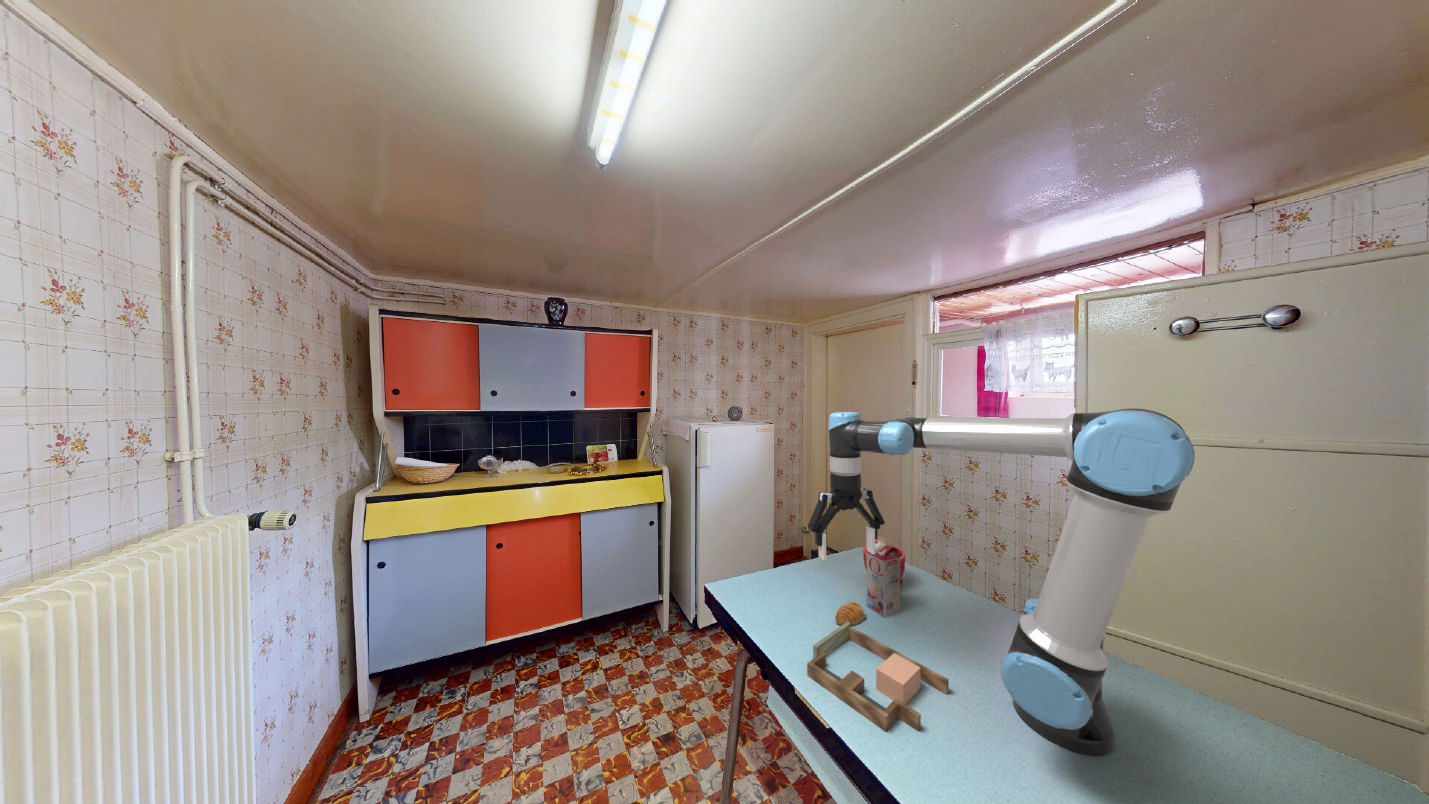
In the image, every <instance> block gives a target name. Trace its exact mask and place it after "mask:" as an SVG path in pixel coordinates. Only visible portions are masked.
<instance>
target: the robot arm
mask: <svg viewBox="0 0 1429 804" xmlns="http://www.w3.org/2000/svg"><path fill="white" fill-rule="evenodd" d="M828 438H829V439H828V440H829V470H830V474H829V481H830V482H829V483H830V485H829V486H830V487H829V488H830V492H829V493H826V492H825V493H824V492H823V491H820V492H819V493H818V500H817V503H816V505H815V508H814V510H813V513H812V514H811V517H810V520H809V522H808V525H807V529H808V530H809V531H811V532H812V533H814V542H815V544H816V546H818V557H819V558H821V559H822V560H823V561H827V534H826V533H825V530H826V529H827V528H828V526H829V525H830V523H831V521H832V520H833V519H834V518H835V516H836V514H838V513H839V512H840V511H847V510H854V509H855V510H856V511H857V512H858V513H859V514H860V515H861V517H862V518H863V519H864V520H865V521H866V523H868V525H865V536H866V538H865V539H866V545H867V551H869V552H870V553H872V554H875V540H877V538H878V536H879V535H878V530H879V529H881V526H884V525H885V519H884V518H883V516H882V513H881V512H880V510H879V507H878V506H877V503H876V502H875V500H874V494H873V491H872V490H870V489H868V488H863V489H862V475H861V474H860V473H861V472H862V461H861V459H862V458H861V457H862V455H861V452H868V453H875V454H882V455H885V454H886V455H889V456H905V455H908V454H909V453H910V452H911V450H912V449H933V450H948V451H961V452H962V451H966V452H976V453H977V452H981V453H993V454H995V453H996V454H1008V455H1009V454H1010V455H1011V454H1012V455H1026V456H1039V457H1041V456H1043V457H1056V458H1057V457H1058V458H1067V459H1068V460H1069V461H1071V465H1070V469H1069V471H1068V473H1067V477H1066V481H1065V482H1066V483H1067V485H1068V486H1069V488H1070V489H1071V491H1072V492H1073V494H1074V495H1073V498H1072V501H1071V503H1070V507H1069V510H1068V513H1067V516H1066V518H1065V521H1064V523H1063V527H1062V530H1061V533H1060V536H1059V539H1058V542H1057V544H1056V548H1055V550H1054V552H1053V553H1054V554H1053V556H1052V559H1051V562H1050V565H1049V568H1048V571H1047V573H1046V577H1045V580H1044V583H1043V585H1042V588H1041V591H1040V594H1039V596H1038V598H1029V599H1027V600H1026V601H1025V604H1024V608H1023V609H1022V610H1023V612H1024V614H1022V615H1021V616H1020V618H1019V620H1018V624H1017V626H1016V629H1015V631H1014V635H1013V639H1012V641H1011V644H1010V646H1009V649H1008V652H1007V653H1006V654H1005V655H1004V656H1003V657H1002V660H1001V666H1000V676H1001V680H1002V683H1003V686H1004V687H1005V689H1006V690H1007V692H1008V693H1009V695H1010V697H1011V698H1012V705H1013V708H1014V709H1015V712H1016V714H1017V715H1018V716H1019V717H1020V718H1021V720H1022V721H1023V722H1024V723H1025V724H1026V725H1027V726H1029V727H1030V728H1031V729H1032V730H1033V731H1035V732H1036V733H1037V734H1039V735H1040V736H1041V737H1043V738H1045V739H1047V740H1048V741H1050V742H1052V743H1054V744H1056V745H1057V746H1060V747H1062V748H1065V749H1066V750H1069V751H1073V752H1075V753H1078V754H1083V755H1088V756H1104V755H1107V754H1110V753H1111V752H1112V751H1113V750H1114V747H1115V731H1114V727H1113V723H1112V722H1111V719H1110V716H1109V714H1108V711H1107V708H1106V706H1105V702H1104V700H1103V678H1104V676H1105V673H1106V670H1107V668H1108V665H1109V661H1108V658H1107V656H1106V654H1105V653H1104V640H1106V636H1105V634H1106V631H1107V630H1108V629H1107V628H1108V627H1109V623H1110V621H1111V618H1112V616H1113V613H1114V611H1115V608H1116V606H1117V603H1118V600H1119V598H1120V595H1121V592H1122V590H1123V588H1124V585H1125V583H1126V580H1127V577H1128V575H1129V572H1130V570H1131V567H1132V565H1133V562H1134V560H1135V557H1136V555H1137V552H1138V550H1139V547H1140V544H1141V542H1142V539H1143V537H1144V534H1145V532H1146V529H1147V527H1148V524H1149V521H1150V519H1151V518H1152V517H1155V516H1159V515H1163V514H1166V513H1170V511H1171V509H1172V506H1173V504H1174V502H1175V499H1176V497H1177V494H1178V492H1179V489H1180V487H1181V485H1182V483H1183V481H1185V479H1186V477H1187V476H1188V477H1189V476H1190V473H1191V472H1192V469H1193V467H1194V464H1195V459H1196V455H1195V449H1194V445H1193V442H1192V441H1191V439H1190V437H1189V436H1188V434H1187V433H1186V431H1185V430H1184V428H1183V426H1181V425H1180V424H1179V423H1178V422H1176V421H1175V420H1174V419H1173V418H1172V417H1169V416H1167V415H1165V414H1163V413H1160V412H1158V411H1154V410H1152V409H1151V410H1149V409H1145V408H1122V409H1116V410H1110V411H1108V410H1107V411H1099V412H1085V413H1084V412H1080V413H1079V412H1077V413H1076V412H1074V413H1070V414H1069V415H1068V416H1067V417H1065V418H1058V417H1057V418H1051V417H1050V418H1049V417H1047V418H1044V417H1043V418H1041V417H1039V418H1038V417H1035V418H1033V417H1031V418H1030V417H1029V418H1028V417H1025V418H1024V417H1023V418H1021V417H1020V418H1019V417H1018V418H1016V417H1013V418H1011V417H1006V418H1005V417H1002V418H1001V417H1000V418H999V417H995V418H993V417H989V418H988V417H985V418H984V417H982V418H981V417H980V418H979V417H971V418H970V417H945V418H944V417H926V418H925V417H915V416H906V417H903V418H895V419H891V420H889V419H888V420H883V421H882V420H880V421H879V420H863V419H861V415H860V413H859V412H857V411H855V412H854V411H837V412H832V413H830V415H829V418H828ZM861 489H862V490H861ZM862 498H863V499H864V501H865V504H866V505H867V508H868V510H869V511H870V513H869V512H868V511H867V510H866V508H865V507H864V505H863V504H862V503H861V502H860V501H861V499H862ZM830 500H831V502H830ZM829 502H830V503H829ZM828 503H829V505H828ZM827 505H828V507H827ZM826 508H827V509H826ZM871 515H872V516H871ZM877 535H878V536H877ZM866 545H865V546H866Z"/></svg>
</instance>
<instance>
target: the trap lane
mask: <svg viewBox="0 0 1429 804" xmlns="http://www.w3.org/2000/svg"><path fill="white" fill-rule="evenodd" d="M848 640H849V641H851V642H853V643H855V645H858V646H860V647H862V648H863V649H865V650H867V651H869V652H870V653H872V654H874V655H876V656H877V657H880V658H881V659H883V660H884V661H886V660H887V659H888V658H889V657H890V656H891V655H892V654H894V653H895V654H897V655H899V656H901V657H902V658H904V659H906V660H908V661H910V662H911V663H913V664H915V665H917V666H919V667H920V668H921V674H920V681H922V682H923V683H926V684H927V685H929V686H930V687H932V688H934V689H936V690H938V691H939V692H941V693H943V694H945V695H948V694H949V688H950V687H949V678H947V677H946V676H943V675H942V674H940V673H937V672H936V671H934V670H932V669H930V668H928V667H927V666H925V665H923V664H921V663H919V662H918V661H915V660H914V659H912V658H910V657H908V656H907V655H904V654H903V653H900V652H899V651H897V650H895V649H893V648H891V647H890V646H887V645H885V644H884V643H882V642H880V641H878V640H876V639H874V638H873V637H871V636H869V635H867V634H865V633H863V632H861V631H859V630H858V629H856V628H854V627H852V625H851V623H849V622H846V623H844V624H843V625H840V626H838V627H837V628H836V629H835V630H833V631H832V632H830V633H829V634H827V635H826V636H824V637H823V638H821V639H820V640H818V641H817V642H816V643H815V644H813V646H812V647H813V648H812V649H813V651H812V652H813V653H812V655H813V656H812V659H811V660H809V661H808V662H807V663H806V666H807V667H806V669H807V670H806V675H807V676H808V677H809V678H810V679H811V680H813V681H814V682H816V683H817V684H819V685H820V686H821V687H822V688H824V689H825V690H827V692H829V693H831V694H832V695H834V696H835V697H836V698H838V700H841V701H842V702H844V703H845V704H846V705H847V706H849V707H850V708H852V709H853V710H855V711H856V712H857V713H859V715H862V716H863V717H865V718H866V719H868V720H869V722H871V723H872V724H874V725H875V726H876V727H878V728H880V729H881V730H882V731H883V732H885V733H887V732H888V730H889V729H890V728H891V727H892V726H893V724H894V723H895V722H896V721H897V720H898V719H899V720H900V721H902V722H903V723H904V724H907V725H908V726H910V727H912V728H913V729H914V730H916V731H917V732H919V731H920V730H921V727H922V726H921V724H922V723H921V721H922V719H921V718H922V717H921V713H920V712H919V711H917V710H915V709H914V708H913V707H910V706H909V705H907V704H904V703H903V702H901V701H899V700H898V699H896V698H895V699H894V700H891V701H892V702H890V703H889V705H888V706H886V707H885V708H886V709H885V710H884V711H883V710H881V709H880V708H878V707H877V706H875V705H874V704H872V703H871V702H869V701H868V700H866V699H865V698H863V697H862V696H860V694H861V693H864V692H865V677H863V676H861V675H859V674H858V673H857V672H855V671H853V670H851V671H850V672H848V673H847V674H846V675H845V676H844V677H842V678H841V679H842V680H841V681H838V680H837V679H835V678H834V677H832V676H831V675H829V674H828V673H826V672H825V671H823V670H822V669H821V668H823V667H825V668H826V666H827V656H828V655H830V654H831V653H832V652H834V651H835V650H836V649H838V648H839V647H840V646H841V645H843V644H844V643H846V642H847V641H848Z"/></svg>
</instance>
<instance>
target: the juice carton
mask: <svg viewBox="0 0 1429 804" xmlns="http://www.w3.org/2000/svg"><path fill="white" fill-rule="evenodd" d="M877 536H878V538H877V540H875V554H872V553H870V552H869V551H867V571H866V574H867V579H866V607H867V608H869V609H871V610H872V611H873V612H875V613H876V614H878V615H879V616H881V617H883V618H886V617H890V616H893V615H896V614H899V613H901V588H900V551H899V550H898V549H895V548H893V541H891V540H889V539H886V538H884V537H882V536H880V535H877Z"/></svg>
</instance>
